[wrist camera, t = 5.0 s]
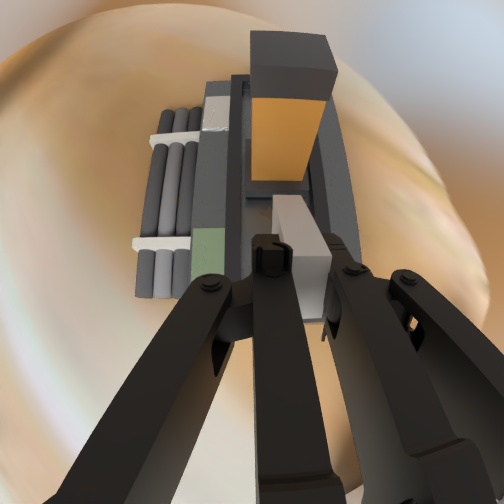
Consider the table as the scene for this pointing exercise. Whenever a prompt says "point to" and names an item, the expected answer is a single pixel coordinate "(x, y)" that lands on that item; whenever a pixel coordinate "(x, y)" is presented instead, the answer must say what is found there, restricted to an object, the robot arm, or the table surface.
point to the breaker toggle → (285, 109)
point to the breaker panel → (258, 208)
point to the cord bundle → (168, 207)
